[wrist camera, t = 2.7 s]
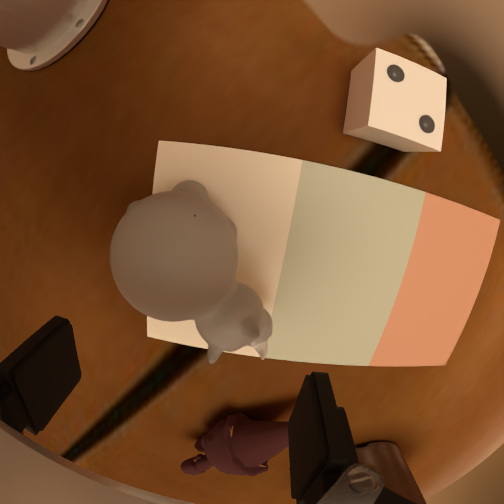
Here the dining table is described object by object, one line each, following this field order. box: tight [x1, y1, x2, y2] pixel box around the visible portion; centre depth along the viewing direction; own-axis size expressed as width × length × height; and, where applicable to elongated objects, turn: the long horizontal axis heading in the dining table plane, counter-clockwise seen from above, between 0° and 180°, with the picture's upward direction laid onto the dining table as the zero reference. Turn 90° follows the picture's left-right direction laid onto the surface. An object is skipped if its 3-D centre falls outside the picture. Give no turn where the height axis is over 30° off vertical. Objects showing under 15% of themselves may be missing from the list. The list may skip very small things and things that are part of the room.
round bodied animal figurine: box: [110, 180, 273, 364], centre depth 17 cm, size 7×12×8 cm, turn 37°
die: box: [343, 48, 447, 152], centre depth 15 cm, size 5×5×5 cm
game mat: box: [147, 141, 500, 366], centre depth 21 cm, size 16×30×1 cm, turn 81°
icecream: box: [181, 412, 289, 476], centre depth 23 cm, size 7×7×15 cm
